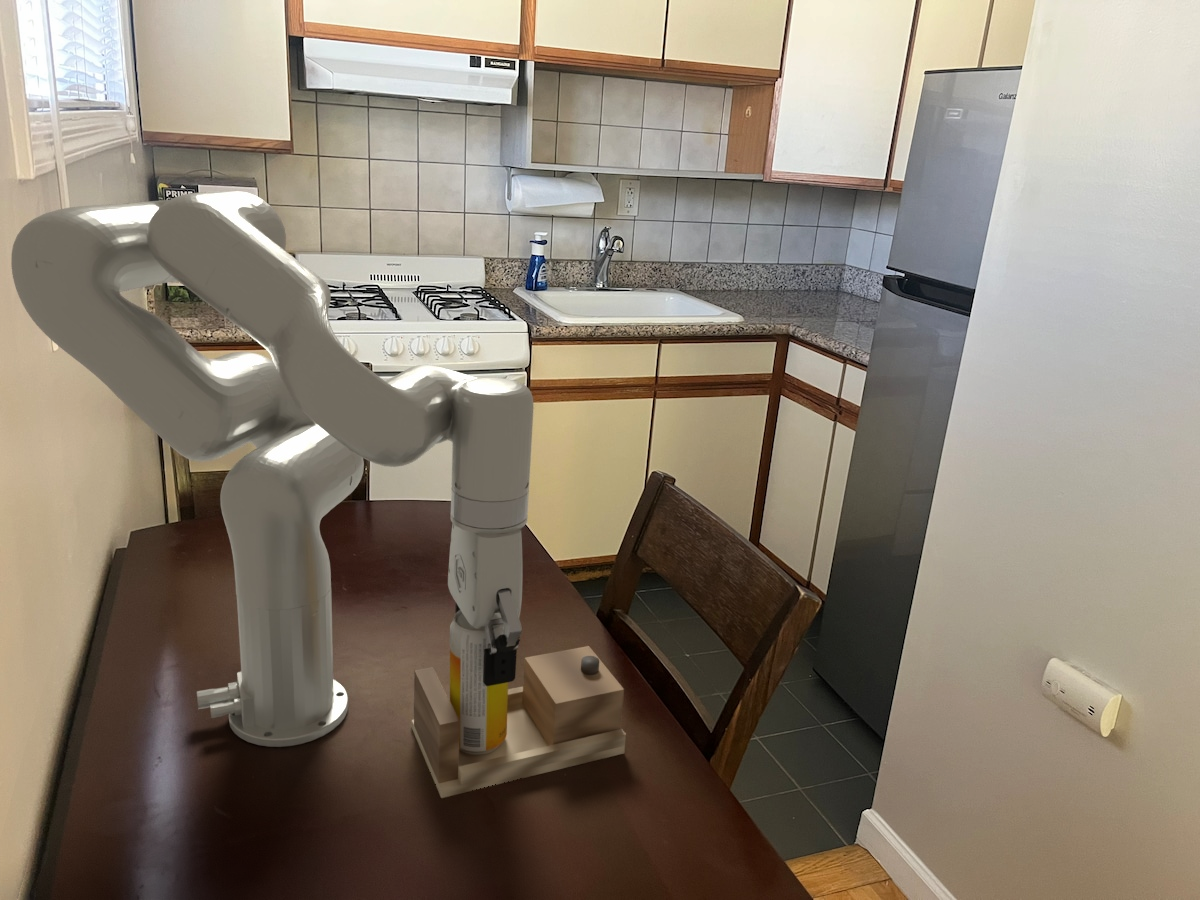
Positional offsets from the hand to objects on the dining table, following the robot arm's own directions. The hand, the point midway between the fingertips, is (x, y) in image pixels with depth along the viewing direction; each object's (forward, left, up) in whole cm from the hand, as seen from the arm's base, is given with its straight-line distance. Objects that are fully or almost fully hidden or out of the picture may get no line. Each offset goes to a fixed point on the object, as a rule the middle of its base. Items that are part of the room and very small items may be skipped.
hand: (483, 656), depth 93 cm
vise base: (+4, 0, -11) cm, 12 cm away
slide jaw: (+10, 0, -10) cm, 15 cm away
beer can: (0, 0, -11) cm, 11 cm away
